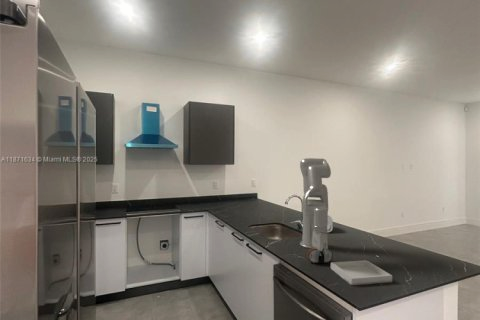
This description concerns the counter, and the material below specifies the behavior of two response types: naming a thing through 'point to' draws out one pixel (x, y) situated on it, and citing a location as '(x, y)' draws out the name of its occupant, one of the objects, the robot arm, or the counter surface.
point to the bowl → (329, 224)
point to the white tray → (360, 272)
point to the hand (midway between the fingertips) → (319, 260)
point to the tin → (314, 255)
